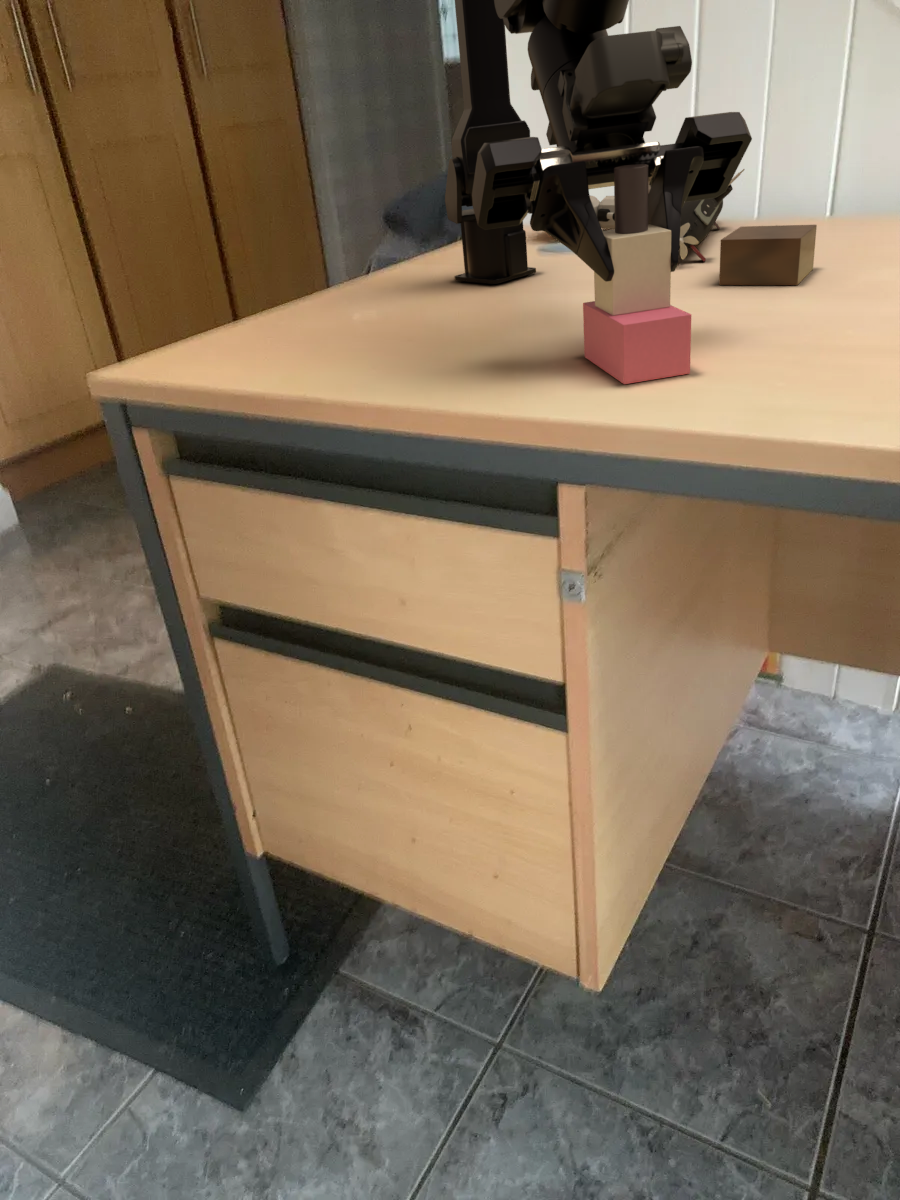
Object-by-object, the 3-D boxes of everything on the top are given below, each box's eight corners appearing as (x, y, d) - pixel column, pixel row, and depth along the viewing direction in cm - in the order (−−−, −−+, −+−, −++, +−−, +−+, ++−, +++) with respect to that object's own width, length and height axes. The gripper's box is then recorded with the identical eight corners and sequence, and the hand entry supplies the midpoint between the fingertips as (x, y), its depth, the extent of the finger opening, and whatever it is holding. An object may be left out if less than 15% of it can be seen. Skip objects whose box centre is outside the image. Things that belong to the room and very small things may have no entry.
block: (718, 285, 87) (720, 239, 85) (738, 269, 92) (740, 226, 90) (797, 285, 84) (801, 238, 82) (813, 269, 89) (816, 224, 87)
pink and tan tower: (584, 357, 70) (578, 167, 64) (644, 347, 71) (644, 159, 65) (623, 384, 63) (621, 175, 57) (690, 373, 64) (695, 165, 58)
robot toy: (655, 228, 125) (543, 226, 128) (657, 191, 122) (544, 190, 126) (646, 244, 115) (525, 242, 118) (649, 204, 112) (526, 203, 116)
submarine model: (673, 292, 97) (753, 219, 91) (629, 243, 96) (707, 167, 90) (703, 240, 122) (766, 181, 117) (668, 201, 121) (731, 139, 116)
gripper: (465, 0, 58) (526, 208, 54) (745, -29, 61) (825, 167, 57) (451, 137, 69) (501, 320, 65) (690, 107, 71) (753, 281, 67)
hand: (642, 272), depth 63 cm, fingers closed on pink and tan tower, 4 cm apart
